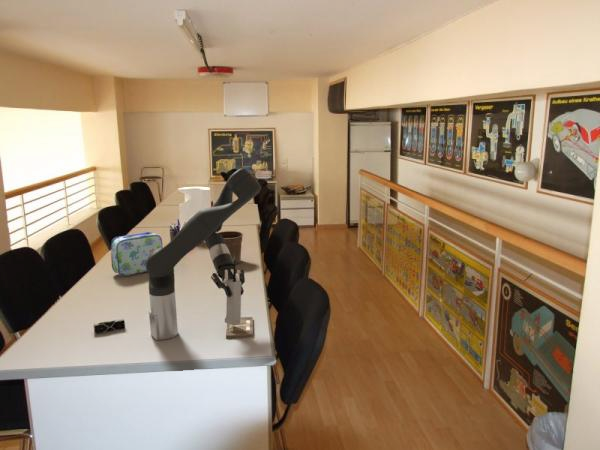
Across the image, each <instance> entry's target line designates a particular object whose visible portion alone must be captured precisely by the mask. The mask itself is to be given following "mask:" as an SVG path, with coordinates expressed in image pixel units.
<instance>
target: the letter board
mask: <svg viewBox="0 0 600 450" xmlns="http://www.w3.org/2000/svg"><path fill="white" fill-rule="evenodd" d="M253 323H254V322H253V316H243V317H242V316H241V319H240V323H239V324H236V325H230V324H228V323H226V332H225V339H239V338H240V339H242V338H254V333H253V332H254V330H253V329H254V326H253Z"/></svg>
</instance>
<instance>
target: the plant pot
mask: <svg viewBox="0 0 600 450" xmlns="http://www.w3.org/2000/svg"><path fill="white" fill-rule="evenodd" d="M218 233H219V234H221V235H222V236H223V239H224V241H225V244H226V246H227V248H228V250H229V252H230V255H231V257H232V260H233V262H234V260H236V261H235V265H237V264H239V263H241V259H242V257H241V256H242V242H243V237H244V233H243V232H241V231H235V230H227V231H226V230H225V231H218Z"/></svg>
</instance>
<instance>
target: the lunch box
mask: <svg viewBox="0 0 600 450" xmlns="http://www.w3.org/2000/svg"><path fill="white" fill-rule="evenodd" d="M110 246H111V248H110V249H111V250H110V251H111V252H110V255H111V256H110V257H111V258H110V259H111V267H112V271H113V273H115V274H118V275H120V276H121V277H129V276H132V275H137V274H141V273H146V272H147V270H146V261H147V259H148V256H149V254H150V253H151V252H152V251H153V250H155V249H158V248H163V247H164V246H163V239H162V236H160V235H159V234H157V233H154V232H149V231H145V232H141V233H135V234H126V235H125V234H124V235H119V236H115V237H114V238H112V239H111V243H110ZM147 273H148V272H147Z"/></svg>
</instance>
